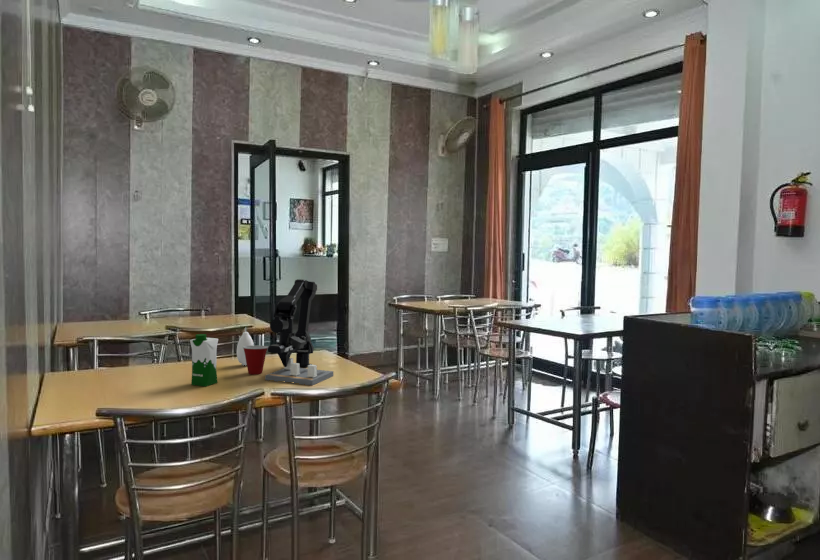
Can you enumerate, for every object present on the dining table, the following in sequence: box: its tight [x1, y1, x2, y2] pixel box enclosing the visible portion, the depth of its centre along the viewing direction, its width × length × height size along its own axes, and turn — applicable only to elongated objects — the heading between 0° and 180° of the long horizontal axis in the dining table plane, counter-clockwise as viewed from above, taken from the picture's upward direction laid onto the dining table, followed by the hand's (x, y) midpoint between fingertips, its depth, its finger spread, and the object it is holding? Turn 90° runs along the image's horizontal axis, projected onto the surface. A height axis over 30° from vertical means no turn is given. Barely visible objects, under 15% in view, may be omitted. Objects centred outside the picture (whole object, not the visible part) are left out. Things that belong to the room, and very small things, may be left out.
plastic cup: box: [243, 344, 269, 375], centre depth 244 cm, size 11×11×12 cm
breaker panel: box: [264, 367, 334, 386], centre depth 237 cm, size 18×22×2 cm
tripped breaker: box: [283, 357, 294, 370], centre depth 243 cm, size 3×3×5 cm
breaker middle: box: [290, 362, 301, 376], centre depth 233 cm, size 3×3×5 cm
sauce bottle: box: [236, 326, 255, 367], centre depth 258 cm, size 8×8×18 cm
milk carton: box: [189, 333, 219, 388], centre depth 223 cm, size 9×9×20 cm
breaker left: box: [307, 364, 318, 378], centre depth 230 cm, size 3×3×5 cm
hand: (285, 366), depth 241 cm, fingers closed
